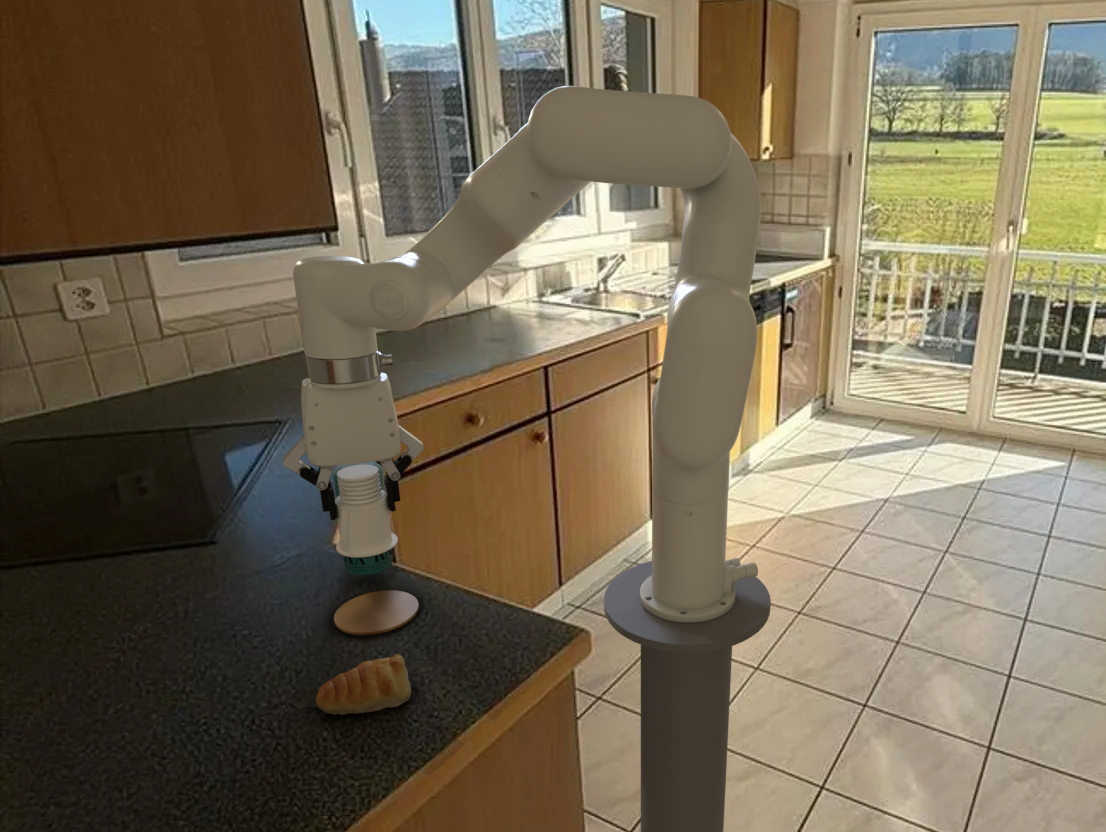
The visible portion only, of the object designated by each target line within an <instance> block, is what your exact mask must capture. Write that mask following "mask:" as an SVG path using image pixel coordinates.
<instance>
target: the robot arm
mask: <svg viewBox="0 0 1106 832" xmlns="http://www.w3.org/2000/svg"><path fill="white" fill-rule="evenodd" d="M591 182H593V183H601V184H612V185H628V186H641V187H643V186H644V187H658V188H671V189H679V190H680V192H681V195H682V197H683V198H682V199H683V203H684V220H683V226H682V234H681V245H680V250H679V251H680V252H679V257H678V262H677V263H678V265H677V269H676V275H675V279H674V280H675V281H674V286H673V291H672V294H671V298H670V301H669V302H668V303H669V304H668V307H667V315H666V324H667V325H666V335H665V343H664V344H665V345H664V350H663V357H662V365H661V370H660V377H658V379H657V381H656V383H655V386H654V388H653V392H652V399H651V419H652V422H651V423H652V425H651V426H652V488H651V561H652V575H651V576H649V577H648V578H647V579H646V580H645V581H644V582H643V583H642V585H641V588H640V601H641V603H642V605H643V606H644V608H645V609H646V610H648V611H649V612H650V613H652V614H653V615H655V616H657V617H660V618H662V619H666V620H669V621H675V622H684V623H693V622H702V621H708V620H711V619H714V618H717V617H719V616H721V615H723V614H725V613H726V612H727V611H729V610H730V609H731V608H732V606H733V605H734V602H735V596H736V591H735V587H734V585H733V584H734V583H737V581H738V580H739V579H746V578H751V577H755V576H756V577H758V574H759V568H758V565H757V564H756V563H755V562H754V561H753V562H752V561H751V562H748V563H743V564H741V560H740V558H739V557H734V558H730V559H727V560H726V555H727V553H726V550H727V529H728V510H729V509H728V508H729V507H728V506H729V491H730V490H729V488H730V462H731V461H730V458H731V457H730V456H731V455H730V454H731V451H732V449H733V448H734V447H735V444H736V442H737V439H738V437H739V433H740V430H741V427H742V421H743V417H744V412H745V407H746V403H747V398H748V392H749V388H750V381H751V377H752V373H753V366H754V363H755V357H756V350H757V341H758V322H757V317H756V313H755V311H754V308H753V306H752V304H751V301H750V296H751V295H750V294H751V287H752V280H753V275H754V270H755V269H754V268H755V264H756V256H757V249H758V243H759V235H760V229H761V228H760V227H761V218H762V217H761V216H762V202H761V201H762V199H761V191H760V186H759V182H758V178H757V175H756V172H755V170H754V166H753V164H752V161H751V159H750V158H749V155H748V154H747V152H746V150H745V148H744V147H743V145H742V144H741V143H740V141H739V139H737V137H736V136H735V135H734V134H733V133H732V132H731V128H730V125H729V123H728V121H727V119H726V117H725V116H724V114H723V113H722V111H720V110H719V109H718V107H716V105H714V104H712V103H711V102H710V101H708V100H706V99H704V98H701V97H698V96H695V95H694V96H693V95H687V94H686V95H685V94H671V93H655V92H645V91H644V92H642V91H627V90H616V89H605V88H594V87H586V86H576V85H563V86H559V87H555V88H553V89H551V90H549V91H547V92H546V93H544V94H543V95H542V96H541V97H540V98H539V99H538V100H537V101H536V102H535V104H534V106H533V108H532V109H531V111H530V114H529V117H528V119H527V122H526V123H525V124H524V125H523V126H522V127H521V128H520V129H519V130H518V131H517V132H516V133H515V134H513V136H512V137H511V138H510V139H508V140H507V141H506V142H504V144H503V145H502V146H501V147H500V148H499V149H497V150H496V151H495V152H493V154H492V155H491V156H489V157H488V158H487V159H485V161H484V162H483V163H482V164H480V166H478V167H477V168H476V169H475V170H473V172H471V173H470V174H469V175H468V177H467V178H466V179H465V180H464V182H463V184H462V185H461V187H460V191H459V194H458V197H457V199H456V201H455V203H454V204H453V206H452V207H451V208H450V209H449V211H448V212H447V213H446V214H445V215H444V216H443V217H442V218H441V219H440V220H439V221H438V222H437V223H436V224H435V225H434V226H433V227H432V228H431V229H430V230H429V231H427V232H426V233H425V234H424V235H423V236H422V237H421V238H420V239H419V240H418V241H416V243H414V244H413V245H412V246H411V247H409V248H408V249H407V250H406V251H405V252H404V253H402V254H399V255H396V256H394V257H391V258H388V259H385V260H382V261H378V262H372V263H365V262H364V261H362V260H361V259H359V258H356V257H353V256H347V255H345V256H343V255H320V256H317V255H316V256H310V257H305V258H302V259H299V260H298V261H296V263H295V264H294V267H293V271H292V275H293V284H294V291H295V297H296V305H297V311H298V317H299V324H300V331H301V337H302V342H303V344H302V345H303V351H304V358H305V363H306V370H307V371H306V372H307V378H304V379H303V380H302V381H301V390H300V391H301V393H300V403H301V418H302V419H301V420H302V430H303V435H301V437H300V438H299V439H298V440H297V441H296V442H295V444H293V446H292V447H291V448H290V449H289V451H288V452H287V453H286V454H285V455H284V457H283V458H282V466H283V467H284V468H286V469H288V470H289V471H291V472H293V473H294V474H296V475H298V476H300V477H301V478H302V479H304V480H305V481H307V482H308V483H310V484H312V485H313V486H315V488H316V489H317V490H318V491H319V493H320V500H321V501H320V502H321V507H322V512H323V513H325V512H329V517H330V518H329V519H330V521H335V520H338V519H337V511H336V505H335V499H336V494H335V487H334V481H331V476H332V474H333V470H334V467H339V466H343V465H351V464H360V463H368V462H376V463H377V462H380V465H381V466H382V468H383V470H384V471H385V475H384V483H385V492H386V493H387V498H388V506H389V512H397V509H396V503H397V502H401V491H400V484H399V480H400V479H401V476H402V475H403V474H404V473H405V472H406V470H408V468H409V467H410V466H411V465H412V463H413V461H414V460H415V459H417V458H418V457H419V455H420V454H421V453H422V452H423V451H424V450H425V446H424V443H423V442H422V441H421V439H420V440H419V439H418V437H416V436H415V435H413V434H412V433H411V432H408V430H407V429H405V428H404V427H402V425H400V424H399V419H398V414H397V408H396V402H395V398H394V394H393V390H392V386H391V383H390V380H389V377H388V375H387V373H386V372H385V373H384V372H381V371H383V370H384V369H386V368H387V367H393V366H394V362H393V355H392V354H385V353H381V351H378V350H379V348H378V341H377V332H376V331H377V330H376V329H379V330H385V331H393V332H404V331H411V330H414V329H416V328H418V327H420V326H422V325H423V324H424V323H425V322H427V321H428V320H430V319H431V318H432V317H433V316H434V315H436V314H438V313H439V312H441V311H443V310H444V309H445V308H446V307H447V306H448V305H449V304H450V303H451V302H452V301H453V300H454V299H457V297H458V296H460V294H461V293H463V292H464V291H465V290H466V289H467V288H468V287H469V286H470V285H472V284H473V283H474V282H475V281H476V280H477V279H479V278H480V276H482V275H483V274H484V273H485V272H487V271H488V269H490V268H491V267H492V266H493V265H494V264H495V263H496V262H497V261H499V260H500V259H502V257H504V256H505V255H506V254H508V253H510V252H512V251H513V250H515V249H517V248H518V247H519V246H520V245H521V244H522V243H524V241H526V240H527V239H528V238H529V237H530V236H531V235H533V234H534V233H535V232H536V231H537V230H538V229H539V228H540V227H541V226H542V225H544V224H545V223H546V222H548V220H549V219H550V218H551V217H553V216H554V215H555V214H556V213H558V211H559V210H560V209H561V208H563V207H564V206H565V205H566V204H567V203H568V202H570V201H571V200H572V199H573V198H574V197H576V196H577V195H578V194H579V193H580V192H581V191H582V190H583V189H585V188H586V187H587V186H588V185H589V184H590V183H591ZM402 444H404V445H405V446H407V448H406V449H405V451H404V452H402V453H401V451H402ZM305 454H306V456H307V460H308V463H309V464H307V463H304V461H302V460H301V458H302V457H303V456H304V455H305ZM395 458H396V459H395ZM313 466H314V467H317V468H314V467H313Z"/></svg>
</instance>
